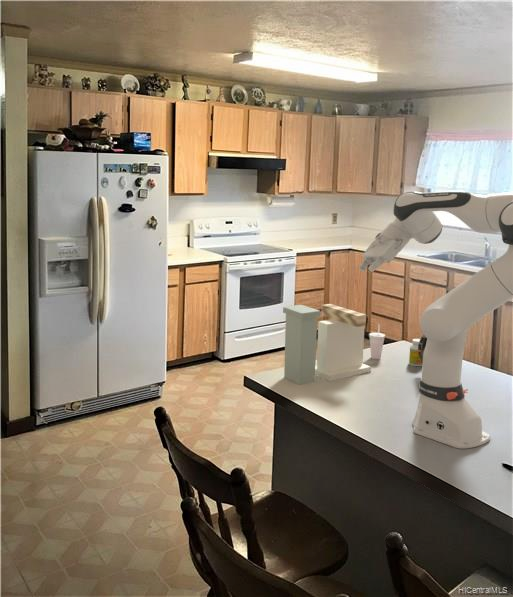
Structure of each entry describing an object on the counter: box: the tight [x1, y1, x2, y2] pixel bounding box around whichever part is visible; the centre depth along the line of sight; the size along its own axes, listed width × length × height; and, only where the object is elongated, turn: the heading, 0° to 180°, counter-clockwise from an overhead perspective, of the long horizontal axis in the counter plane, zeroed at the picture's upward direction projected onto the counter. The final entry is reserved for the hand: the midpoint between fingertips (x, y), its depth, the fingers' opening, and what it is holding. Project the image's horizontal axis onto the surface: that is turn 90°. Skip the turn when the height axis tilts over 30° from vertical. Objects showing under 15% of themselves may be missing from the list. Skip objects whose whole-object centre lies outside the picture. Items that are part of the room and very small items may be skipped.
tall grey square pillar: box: [282, 304, 321, 385], centre depth 227 cm, size 11×8×26 cm
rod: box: [320, 303, 367, 327], centre depth 234 cm, size 20×4×4 cm, turn 33°
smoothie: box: [368, 323, 386, 360], centre depth 255 cm, size 6×6×14 cm
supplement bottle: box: [408, 338, 422, 367], centre depth 249 cm, size 5×5×10 cm
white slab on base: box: [315, 318, 372, 382], centre depth 237 cm, size 12×20×20 cm, turn 123°
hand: (365, 270), depth 213 cm, fingers open, 8 cm apart
